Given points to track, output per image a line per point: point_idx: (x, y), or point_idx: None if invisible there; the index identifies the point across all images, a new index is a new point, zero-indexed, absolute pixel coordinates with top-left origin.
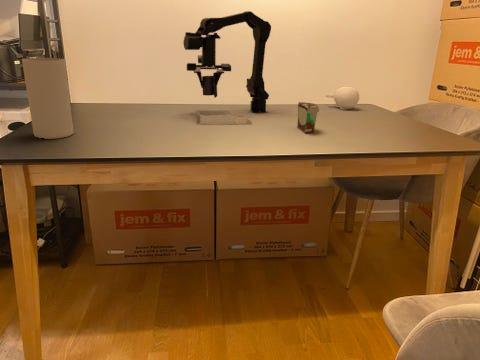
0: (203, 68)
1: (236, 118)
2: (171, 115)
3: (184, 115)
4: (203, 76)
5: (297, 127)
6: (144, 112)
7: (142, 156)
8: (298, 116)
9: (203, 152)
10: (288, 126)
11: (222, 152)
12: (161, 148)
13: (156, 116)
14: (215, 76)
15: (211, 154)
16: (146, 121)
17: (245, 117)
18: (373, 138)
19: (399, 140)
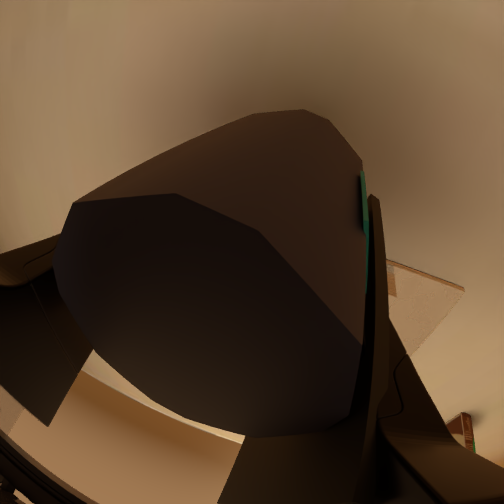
0: (17, 461)
1: (396, 304)
2: (102, 106)
3: (158, 114)
4: (84, 322)
5: (460, 414)
6: (26, 41)
7: (121, 391)
8: (462, 440)
9: (193, 421)
10: (460, 401)
11: (219, 431)
12: (135, 387)
13: (57, 124)
14: (316, 436)
15: (203, 427)
16: (49, 203)
17: (447, 300)
18: (479, 453)
19: (490, 457)
